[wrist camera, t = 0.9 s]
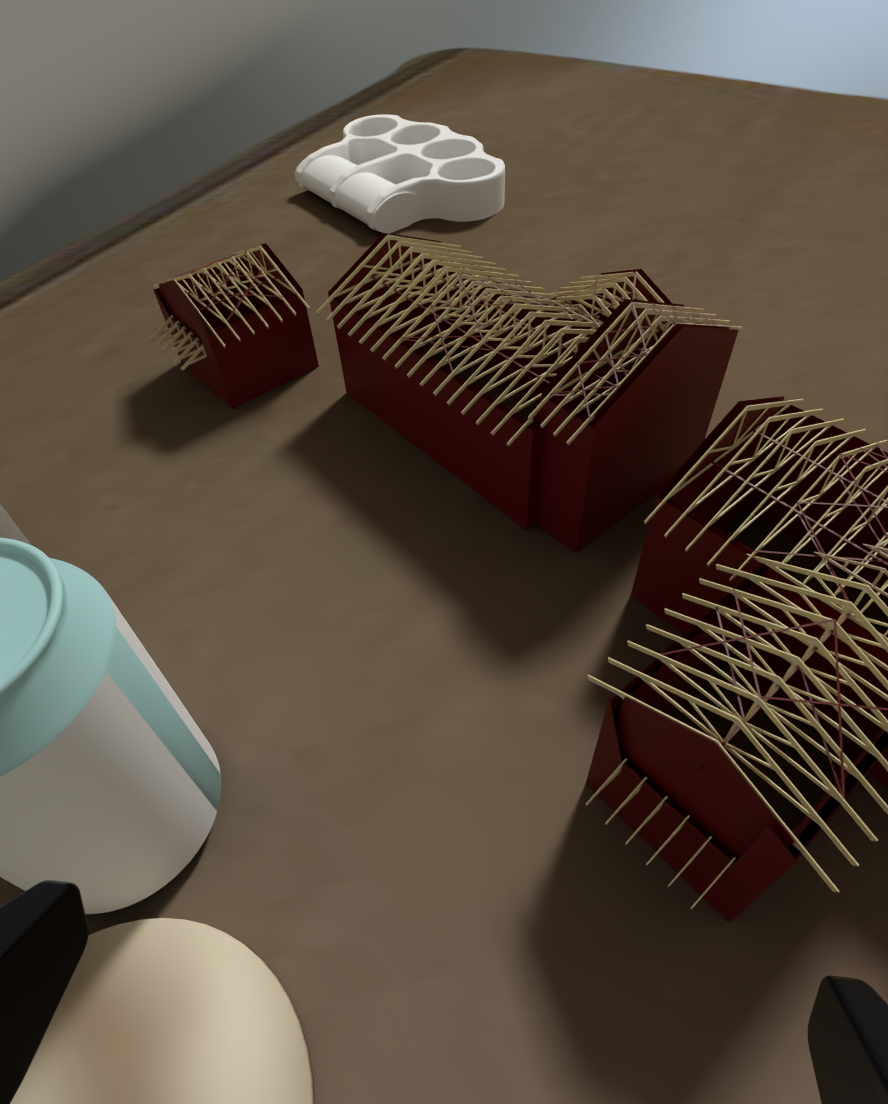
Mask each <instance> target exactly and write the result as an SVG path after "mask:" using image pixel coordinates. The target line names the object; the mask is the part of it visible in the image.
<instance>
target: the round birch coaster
mask: <svg viewBox="0 0 888 1104" xmlns="http://www.w3.org/2000/svg"><path fill="white" fill-rule="evenodd" d="M10 1104H315V1097H314V1079H313V1073H312V1067H311V1061H310V1055H309V1049H308V1046H307V1042H306V1039H305V1035H304V1032H303V1028H302V1025H301V1022H300V1020H299V1017H298V1015H297V1013H296V1011H295V1008H294V1006H293V1004H292V1001H291V999H290V998H289V996H288V994H287V993H286V991H285V989H284V988H283V986H282V984H281V983H280V981H279V980H278V978H277V977H276V976H275V975H274V974H273V972H272V971H271V970H270V969H269V968H268V966H267V965H266V964H265V963H264V962H263V961H262V960H261V959H260V958H259V957H258V956H256V955H255V954H254V953H253V952H252V951H251V950H250V949H248V948H247V947H246V946H245V945H244V944H242V943H241V942H239V941H238V940H236V939H234V938H233V937H231V936H230V935H228V934H226V933H225V932H222V931H220V930H218V929H215V928H213V927H210V926H208V925H206V924H201V923H197V922H193V921H189V920H184V919H170V918H156V919H142V920H137V921H132V922H127V923H123V924H118V925H115V926H112V927H109V928H106V929H103V930H101V931H98V932H95V933H93V934H91V935H89V936H88V940H87V944H86V948H85V950H84V953H83V955H82V957H81V959H80V961H79V963H78V965H77V968H76V970H75V972H74V974H73V976H72V978H71V980H70V982H69V985H68V987H67V989H66V991H65V993H64V995H63V997H62V1000H61V1002H60V1004H59V1006H58V1008H57V1010H56V1012H55V1014H54V1017H53V1019H52V1021H51V1023H50V1025H49V1027H48V1029H47V1031H46V1034H45V1036H44V1038H43V1040H42V1042H41V1044H40V1046H39V1048H38V1051H37V1053H36V1055H35V1057H34V1059H33V1061H32V1063H31V1065H30V1067H29V1069H28V1071H27V1073H26V1075H25V1077H24V1079H23V1081H22V1083H21V1085H20V1087H19V1089H18V1090H17V1092H16V1094H15V1096H14V1098H13V1099H12V1101H11V1103H10Z"/></svg>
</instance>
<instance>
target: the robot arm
mask: <svg viewBox="0 0 888 1104" xmlns="http://www.w3.org/2000/svg"><path fill="white" fill-rule="evenodd" d="M87 940H88V924H87V919H86V915H85V911H84V906H83V902H82V898H81V893H80V890H79V888H78V886H77V885H76V884H74V883H71V882H63V881H55V880H45V881H42V882H40V883H38V884H36V885H34V886H33V887H31V888H30V889H28V890H26V891H25V892H23V893H22V894H20V895H19V896H17V897H15V898H14V899H12V900H11V901H9V902H8V903H6V904H5V905H3V906H1V907H0V1104H10V1103H11V1101H12V1099H13V1098H14V1096H15V1094H16V1092H17V1090H18V1089H19V1087H20V1085H21V1083H22V1081H23V1079H24V1077H25V1075H26V1073H27V1071H28V1069H29V1067H30V1065H31V1063H32V1061H33V1059H34V1057H35V1055H36V1053H37V1051H38V1048H39V1046H40V1044H41V1042H42V1040H43V1038H44V1036H45V1034H46V1031H47V1029H48V1027H49V1025H50V1023H51V1021H52V1019H53V1017H54V1014H55V1012H56V1010H57V1008H58V1006H59V1004H60V1002H61V1000H62V997H63V995H64V993H65V991H66V989H67V987H68V985H69V982H70V980H71V978H72V976H73V974H74V972H75V970H76V968H77V965H78V963H79V961H80V959H81V957H82V955H83V953H84V950H85V948H86V944H87ZM808 1043H809V1049H810V1054H811V1058H812V1062H813V1067H814V1071H815V1076H816V1080H817V1085H818V1089H819V1094H820V1098H821V1102H822V1104H888V1004H887V1003H886V1002H885V1001H884V1000H883V999H882V998H881V997H880V996H879V995H878V994H877V992H876V991H875V990H874V989H873V988H872V987H871V986H870V985H868V984H867V983H865V982H864V981H862V980H859V979H854V978H846V977H838V976H826V977H825V978H824V979H823V980H822V981H821V983H820V986H819V990H818V993H817V996H816V999H815V1003H814V1006H813V1009H812V1013H811V1016H810V1019H809V1023H808Z"/></svg>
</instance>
